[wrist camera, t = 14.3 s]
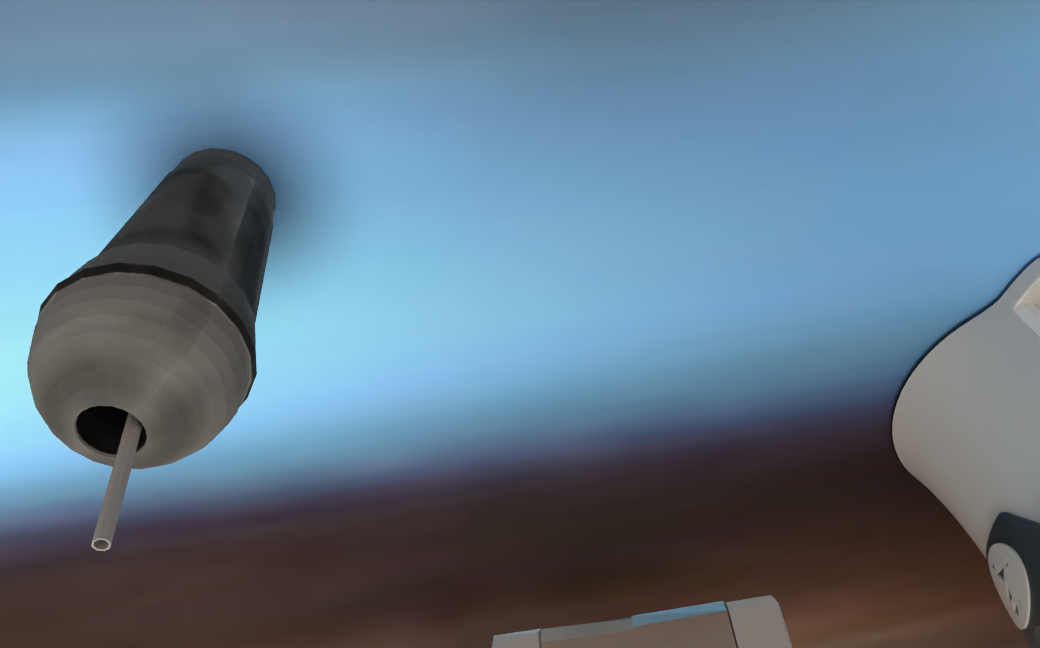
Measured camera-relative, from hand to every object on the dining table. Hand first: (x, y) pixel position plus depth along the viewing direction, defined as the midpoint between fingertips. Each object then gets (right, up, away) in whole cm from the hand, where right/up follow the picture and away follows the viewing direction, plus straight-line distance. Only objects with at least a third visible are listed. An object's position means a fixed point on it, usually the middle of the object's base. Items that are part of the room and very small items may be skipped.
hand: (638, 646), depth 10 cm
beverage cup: (-14, +9, +31) cm, 36 cm away
